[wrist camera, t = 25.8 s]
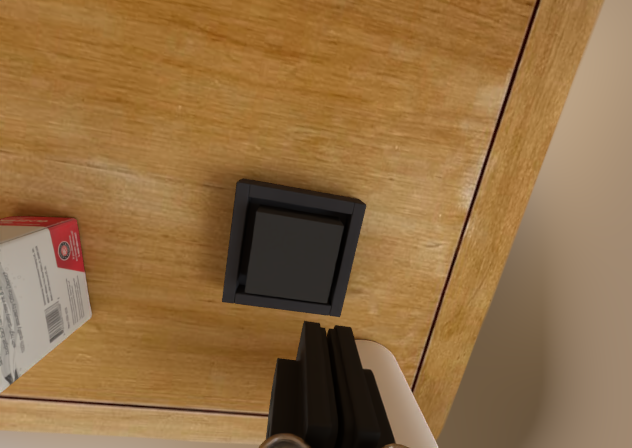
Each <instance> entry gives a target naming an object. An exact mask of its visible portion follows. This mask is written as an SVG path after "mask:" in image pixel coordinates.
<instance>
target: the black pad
mask: <svg viewBox="0 0 632 448" xmlns="http://www.w3.org/2000/svg"><path fill="white" fill-rule="evenodd" d="M343 228H344V226H343V224H342V222H341V221H340V219H339V218H338V217H334V216H328V215H322V214H316V213H310V212H304V211H298V210H292V209H287V208H281V207H275V206H269V205H263V204H260V206H259V208H258V210H257V212H256V217H255V224H254V231H253V238H252V245H251V252H250V259H249V266H248V273H247V280H246V287H245V293H252V294H260V295H267V296H275V297H282V298H290V299H297V300H305V301H312V302H320V303H327V301H328V296H329V292H330V287H331V283H332V278H333V273H334V269H335V264H336V260H337V255H338V251H339V246H340V242H341V237H342V232H343Z"/></svg>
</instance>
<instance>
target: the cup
mask: <svg viewBox="0 0 632 448" xmlns="http://www.w3.org/2000/svg"><path fill="white" fill-rule="evenodd" d="M355 343H356V346H357V350H358V353H359V357H360V360H361V364H362V367H363V369H370V370H371V371H372V372H373V374H374V377H375V380H376V383H377V386H378V389H379V392H380V395H381V398H382V401H383V405H384V408H385V411H386V414H387V417H388V420H389V423H390V426H391V429H392V432H393V435H394V439H395V442H396V444H401V445H404V446H406V447H409V448H439V447H438V445H437V443H436V441H435V439H434V437H433V435H432V433H431V431H430V429H429V427H428V425H427V423H426V420H425V418H424V416H423V414H422V412H421V410H420V408H419V406H418V404H417V402H416V400H415V398H414V396H413V394H412V392H411V390H410V388H409V385H408V383H407V381H406V379H405V377H404V375H403V373H402V371H401V369H400V367H399V365H398V363H397V361H396V359H395V357H394V355H393V354H392V353H391V352H390V351H389V350H388V349H387V348H386V347H384V346H382V345H381V344H379V343H376V342H373V341H368V340H355Z"/></svg>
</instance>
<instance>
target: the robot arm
mask: <svg viewBox="0 0 632 448" xmlns="http://www.w3.org/2000/svg"><path fill="white" fill-rule="evenodd" d="M259 448H409V447H406V446H404V445H401V444H396V442H395V439H394V435H393V432H392V429H391V426H390V423H389V420H388V417H387V414H386V411H385V408H384V405H383V401H382V398H381V395H380V392H379V389H378V386H377V383H376V380H375V377H374V374H373V372H372V371H371V370H370V369H363V367H362V364H361V360H360V357H359V353H358V350H357V346H356V343H355V339H354V336H353V332H352V329H351V327H345V326H337V325H335V327H334V329H329V330H328V334H327V337H326V330H325V328H320V323H315V322H308V321H304V323H303V328H302V333H301V338H300V343H299V348H298V353H297V357H296V360H288V359H280V358H278V359H277V363H276V369H275V374H274V380H273V386H272V392H271V400H270V408H269V417H268V425H267V434H266V440H265V441H264V442H263V443H262V444H261V445H260V446H259Z"/></svg>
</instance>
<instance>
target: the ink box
mask: <svg viewBox="0 0 632 448" xmlns="http://www.w3.org/2000/svg"><path fill="white" fill-rule="evenodd" d="M91 316H92V313H91V307H90V301H89V294H88V288H87V282H86V275H85V270H84V264H83V256H82V249H81V243H80V237H79V231H78V225H77V220H76V219H74V218H60V217H30V216H16V217H7V218H3V219H0V393H1V392H2V391H4V390H5V389H6V388H7V387H8V386H9V385H11V384H12V383H13V382H14V381H15V380H17V379H18V378H19V377H20V376H21V375H23V374H24V373H25V372H26V371H28V370H29V369H30V368H31V367H32V366H34V365H35V364H36V363H37V362H38V361H40V360H41V359H42V358H43V357H44V356H46V355H47V354H48V353H49V352H50V351H52V350H53V349H54V348H55V347H56V346H58V345H59V344H60V343H61V342H62V341H64V340H65V339H66V338H67V337H68V336H69V335H71V334H72V333H73V332H74V331H75V330H77V329H78V328H79V327H80V326H81V325H83V324H84V323H85V322H86V321H87V320H89V319H90V318H91Z"/></svg>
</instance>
